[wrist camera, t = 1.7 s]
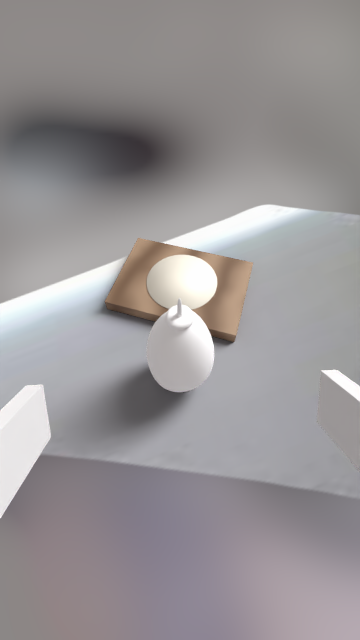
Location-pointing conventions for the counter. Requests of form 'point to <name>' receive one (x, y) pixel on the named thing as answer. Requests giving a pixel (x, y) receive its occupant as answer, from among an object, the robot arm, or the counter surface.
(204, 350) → the white pear with stem
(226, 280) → the walnut board
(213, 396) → the counter surface
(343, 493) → the counter surface
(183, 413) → the counter surface
